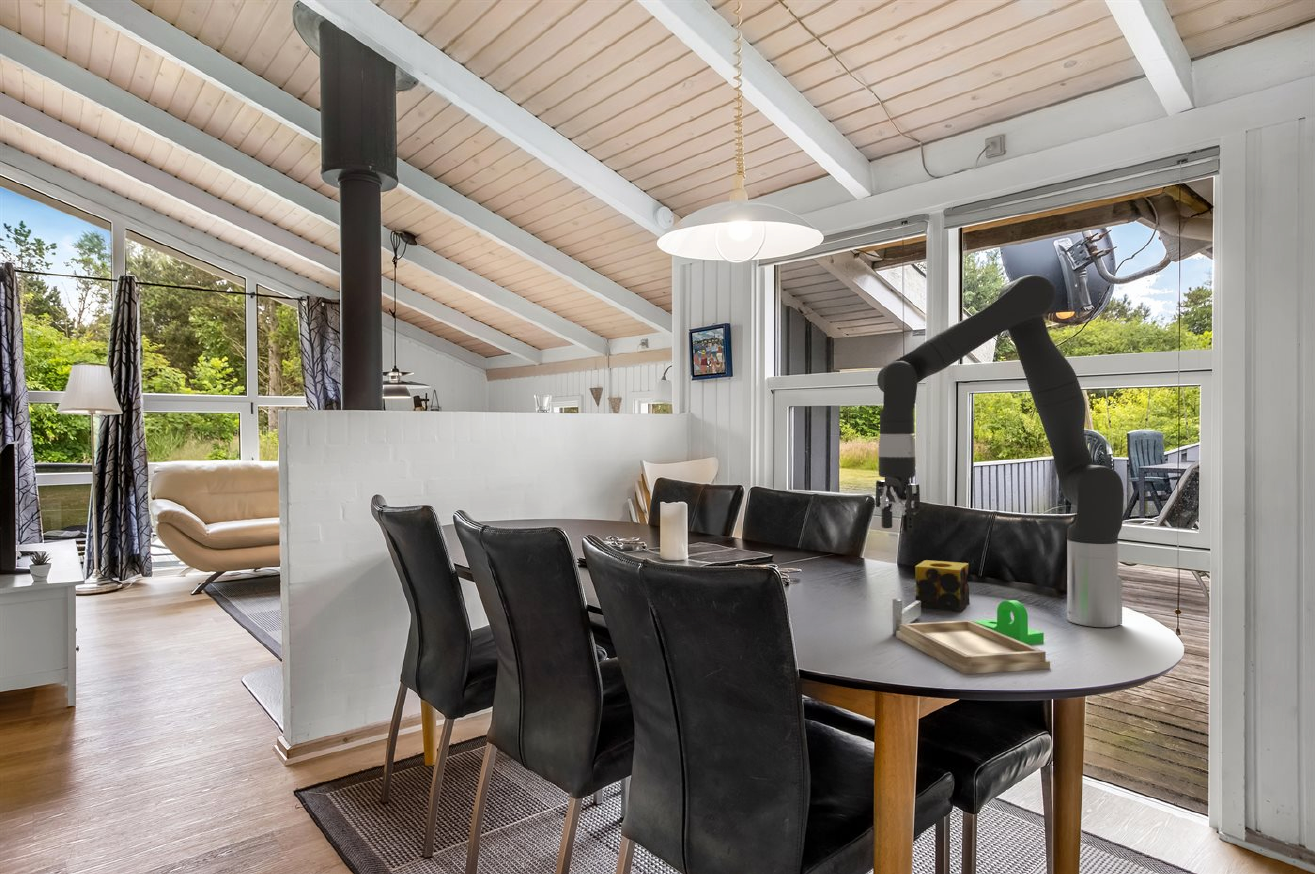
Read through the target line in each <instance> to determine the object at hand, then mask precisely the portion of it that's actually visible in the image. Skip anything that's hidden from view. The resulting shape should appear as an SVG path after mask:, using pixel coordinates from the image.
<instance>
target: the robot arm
mask: <svg viewBox="0 0 1315 874" xmlns="http://www.w3.org/2000/svg"><path fill="white" fill-rule="evenodd" d="M1055 300H1056V289H1055V285H1054V284H1053V283H1052V281H1050V280H1049V279H1048V278H1046V277H1045V276H1042V275H1038V274H1031V275H1029V274H1028V275H1024V276H1021V277H1019V278H1016V279H1015V280H1012V281H1010V282H1008V283H1007V284H1005V285H1004V286H1003V287H1002V288H1001V289H1000V291H999V293H998V295H997V299H996V300H995V301H993V302H992V303H991V304H989V305H988V306H986V307H984V308H983V309H982V310H980V311H978V312H975V313H974V314H973V315H971V316H969V317H967V318H964V319H963V320H961V321H958V322H957V323H955V324H952V325H951V326H949V327H947V328H946V329H944V330H942V331H941V332H939V333H937V334H936V335H934V336H932V337H931V338H929V339H928V340H926V341H924V342H922V343H921V344H920V345H918V346H917V347H916V348H915V349H913V350H912V351H910V352H908V353H906V354H904V355H903V356H901V357H899V358H897V359H896V360H894V361H892V362H890V363H888V364H887V365H885V366H883V367H882V368H881V370H880V371H879V373H878V375H877V380H876V381H877V386H878V388H879V390H880V391H881V392H882V393H883V407H882V408H881V410H880V413H879V414H880V415H879V439H878V476H879V477H881V478H884V479H883V480H876V482H875V507H876V508H878V509H879V511H881V528H883V529H892V528H893V508H894V505H895V504H896V506H897V507H899V508H900V511H901V514H902V515H901V532H902V533H903V534H913V532H914V516H916V514H918V513H919V514H920V512H921V498H920V497H921V493H920V491H921V489H920V484H919V483H911V478H912V479H913V478H914V477H916V440H915V416H914V415H915V414H914V413H915V406H916V399H917V392H918V391H917V390H918V383H920V382H921V381H923V380H924V379H927V377H929V376H932V375H935V374H937V373H939V372H941V371H943V370H944V369H946V368H948V367H950V366H951V365H953V364H954V363H956V362H957V361H959V360H961V359H962V358H964V357H965V356H967V355H969V354H971V352H974V351H975V350H977V348H979V347H980V346H983V344H985V343H987V342H989V341H990V340H992V339H993V338H996V337H997V336H999V335H1000V334H1003V333H1004V332H1005V331H1007V332H1008V333H1009V335H1010V337H1011V339H1012V342H1013V343H1014V344H1013V345H1014V347H1015V349H1016V351H1017V354H1018V357H1019V361H1020V364H1021V366H1022V367H1021V368H1022V370H1023V373H1024V376H1025V379H1026V382H1027V385H1028V389H1029V391H1030V394H1031V397H1032V400H1033V403H1034V406H1035V409H1036V412H1037V415H1038V416H1039V419H1040V421H1041V424H1042V428H1043V430H1044V434H1045V436H1046V439H1047V441H1048V443H1049V447H1050V450H1051V453H1052V457H1053V462H1054V465H1055V469H1056V474H1057V479H1058V483H1059V486H1060V491H1061V493H1062V495H1063V497H1064V498H1065V499H1066V500H1067V501H1068V503H1070V504H1072V505H1073V506H1077V507H1076V518H1075V520H1074V522H1073V523H1072V524H1070V525H1068V528H1067V531H1066V532H1067V533H1066V534H1067V540H1066V541H1067V544H1066V546H1067V547H1066V548H1067V549H1066V550H1067V551H1066V553H1067V554H1066V555H1067V560H1066V561H1067V563H1066V564H1067V565H1066V566H1067V567H1066V568H1067V572H1066V573H1067V576H1066V577H1067V582H1066V583H1067V584H1066V585H1067V587H1066V588H1067V602H1066V603H1067V609H1066V611H1067V613H1066V614H1067V621H1069V622H1070V623H1073V624H1076V625H1080V626H1086V627H1094V628H1113V627H1114V628H1115V627H1117V626H1119V625H1123V579H1122V578H1120V577H1119V555H1118V554H1119V543H1118V542H1119V534H1120V531H1121V530H1122V527H1123V520H1124V519H1123V517H1124V501H1125V500H1124V498H1125V495H1124V494H1125V493H1124V492H1125V491H1124V484H1123V480H1122V478H1121V476H1120V475H1119V473H1118V472H1117V471H1116V470H1114V469H1113V468H1111V467H1109V466H1104V465H1095V462H1094V461H1093V458H1092V456H1091V453H1090V451H1089V448H1088V446H1087V441H1086V435H1085V425H1086V424H1085V423H1086V401H1085V397H1084V393H1083V391H1082V388H1081V384H1080V382H1079V379H1078V376H1077V374H1076V372H1075V370H1074V368H1073V367H1072V365H1071V364H1070V362H1069V361H1068V360H1067V358H1066V357H1065V356H1064V355H1063V353H1062V352H1061V351H1060V349H1059V348H1058V347H1057V346H1056V344H1055V342H1053V340H1052V338H1051V336H1050V334H1049V330H1048V327H1047V325H1046V321H1045V318H1044V315H1046V314H1047V313H1048V312H1049V311H1050V309H1051V308H1052V307H1053V305H1054V303H1055Z"/></svg>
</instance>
